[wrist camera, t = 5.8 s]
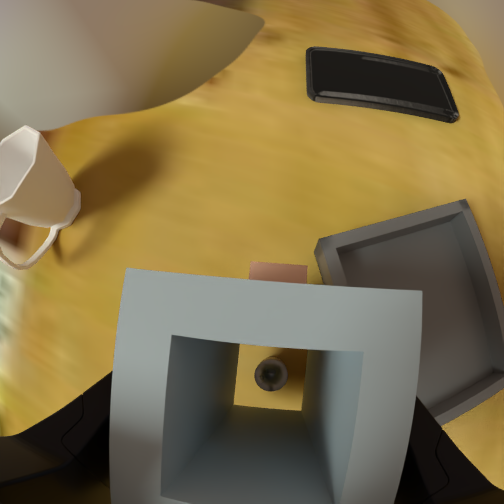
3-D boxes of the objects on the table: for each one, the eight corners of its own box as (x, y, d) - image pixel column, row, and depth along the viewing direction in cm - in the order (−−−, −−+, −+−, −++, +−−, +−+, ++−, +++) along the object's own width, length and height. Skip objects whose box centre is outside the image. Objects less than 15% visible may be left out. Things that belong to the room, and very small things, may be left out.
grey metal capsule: (289, 380, 19) (291, 386, 16) (261, 387, 19) (258, 394, 16) (282, 353, 19) (283, 355, 16) (254, 360, 19) (250, 364, 16)
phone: (461, 120, 22) (307, 95, 24) (456, 127, 24) (306, 104, 25) (440, 67, 25) (305, 44, 26) (437, 74, 26) (305, 52, 27)
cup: (104, 173, 24) (55, 118, 17) (72, 286, 22) (1, 260, 14) (50, 173, 25) (1, 129, 18) (19, 272, 23) (-44, 247, 15)
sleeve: (320, 432, 14) (377, 548, 4) (209, 421, 15) (112, 518, 5) (334, 294, 16) (418, 215, 6) (223, 286, 17) (141, 197, 7)
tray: (495, 377, 17) (517, 378, 14) (364, 441, 17) (376, 454, 14) (448, 213, 21) (465, 198, 18) (313, 252, 21) (318, 238, 18)
